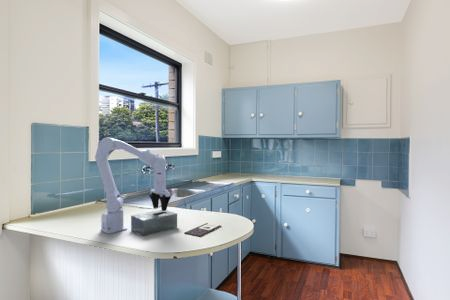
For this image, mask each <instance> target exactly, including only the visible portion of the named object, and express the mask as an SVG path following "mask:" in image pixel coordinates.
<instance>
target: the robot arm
mask: <svg viewBox="0 0 450 300" xmlns="http://www.w3.org/2000/svg"><path fill="white" fill-rule="evenodd" d="M115 150H116V151H117V150H118V151H120V150H123V151H125V152H127V153H129V154H131V155H133V156H136V157H138V160H139V161H141V162H142V163H145V164H147V165H149V166H153V168H154V169H153V170H154V172H153V188H150V194H148V196H149V197H150V200H151V203H152V204H151V205H152V208H153V209H158V208H159V203H160V205H161V206H160V207H161V209H160V210H162V211H166V210H167V209H168V206H169V202H170V200H171V198H172V196H171V192H170V191H168V189H167V183H166V182H167V179H166V178H167V174H166V173H167V172H166V165H167V161H166V159H165V158H164V157H163V156H160V155H159V154H156V153H153V152H151V150H150V149H147V150H146V149H143V150H141V149H138V148H136V147H135V146H133V145H131V144H128V143H126V142H125V141H122V140H119V139H116V138H114V137H103V138H102V139H101V140H100V141H99V142H98V144H97V149H96V152H95V156H94V159H95V163H96V165H97V168H98V172H99V175H100V178H101V180H102V181H101V182H102V185H103V187H104V191H105V199H106V205H105V206H106V207H105V208H106V212H104V213H101V217H100V219H101V220H100V223H101V229H100V231H101V232H104V233H105V234H112V233H113V234H114V233H117V232H122V231H126V230H128V227H125V226H124V208H123V206H124V203H125V200H124V198H123V196H122V195H121V194H120V191H118V189H117V184H116V182H115V178H114V175H113V173H112V168H111V165H110V163H109V159H108V158H109V157H110V155H111V154H112V153H113V152H114V151H115ZM159 201H160V202H159Z"/></svg>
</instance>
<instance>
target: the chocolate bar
mask: <svg viewBox="0 0 450 300" xmlns="http://www.w3.org/2000/svg"><path fill="white" fill-rule="evenodd" d="M221 226H222V225H221V224H220V225H219V224H213V223H208V222H206V223H204V224H201V225H199V226H195V227H194V228H192V229H190V230H187V231H185V232H184V235H189V236H193V237H194V236H195V237H196V238H197V237H198V238H201V237H203V236H206V235H207V234H210V233H211V232H213V231H216V230H218V229H220V228H222V227H221ZM219 227H220V228H219ZM217 228H218V229H217ZM215 229H216V230H215Z"/></svg>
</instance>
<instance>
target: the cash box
mask: <svg viewBox="0 0 450 300" xmlns="http://www.w3.org/2000/svg"><path fill="white" fill-rule="evenodd" d="M130 226H131V227H130V228H131V231H132V232H134V233H137V234H139V235H141V236H143V237H146V236H150V235H153V234H158V233H162V232H165V231H171V230H173V229H177V228H178V213H177V212H173V211H170V210H167V209H166V211H162V209H158V210H152V211H149V212H143V213H139V214H132V215H130Z"/></svg>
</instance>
